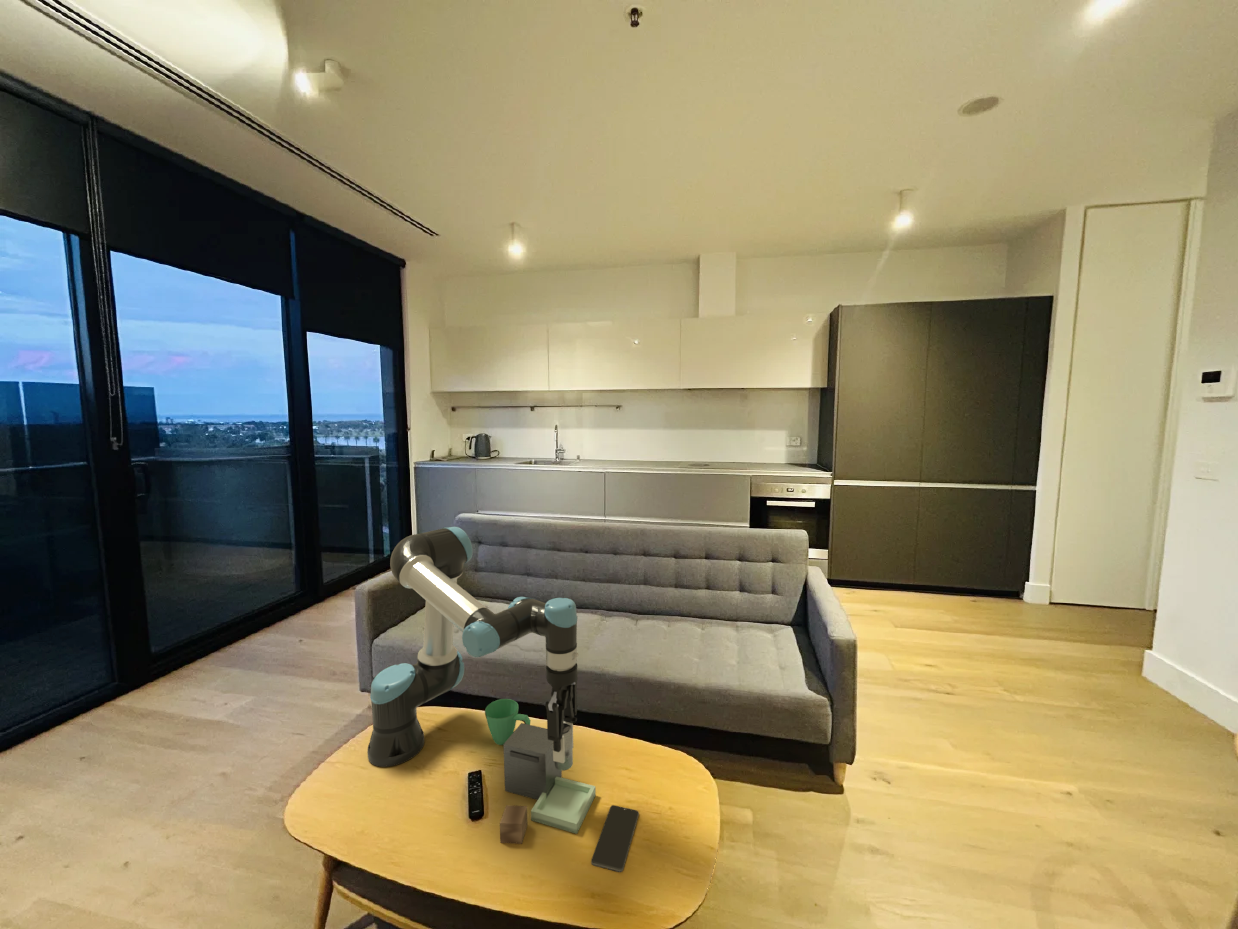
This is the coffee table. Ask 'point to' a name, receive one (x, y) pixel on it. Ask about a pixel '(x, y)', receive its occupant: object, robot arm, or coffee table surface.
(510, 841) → the walnut block
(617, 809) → the smartphone
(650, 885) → the coffee table surface
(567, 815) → the tray
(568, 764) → the cartridge
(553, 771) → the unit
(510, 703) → the mug
